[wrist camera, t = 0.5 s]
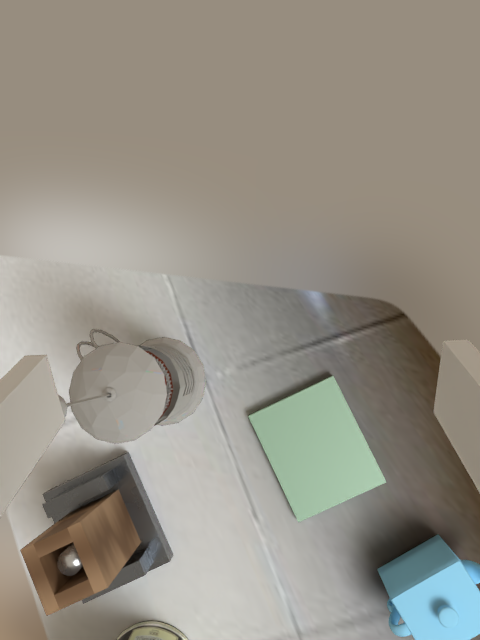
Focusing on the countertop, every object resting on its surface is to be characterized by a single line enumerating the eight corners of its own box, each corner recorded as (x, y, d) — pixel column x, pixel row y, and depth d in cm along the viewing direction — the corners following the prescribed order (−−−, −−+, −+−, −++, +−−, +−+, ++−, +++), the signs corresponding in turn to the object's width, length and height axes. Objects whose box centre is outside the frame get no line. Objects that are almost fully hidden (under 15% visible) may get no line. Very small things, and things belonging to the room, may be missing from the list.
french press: (161, 444, 49) (35, 542, 24) (92, 368, 50) (-95, 386, 25) (224, 382, 48) (164, 415, 24) (153, 308, 50) (26, 265, 25)
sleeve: (141, 542, 46) (107, 587, 38) (91, 565, 47) (46, 615, 38) (118, 489, 47) (80, 521, 38) (69, 512, 47) (20, 549, 39)
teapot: (463, 513, 45) (499, 546, 38) (497, 567, 45) (540, 611, 37) (362, 571, 46) (378, 615, 38) (395, 625, 45) (417, 680, 38)
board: (384, 479, 46) (386, 482, 45) (298, 518, 47) (298, 522, 46) (332, 375, 47) (333, 376, 46) (248, 415, 48) (248, 416, 47)
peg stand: (173, 554, 48) (146, 605, 38) (92, 592, 48) (46, 651, 39) (128, 452, 49) (91, 476, 39) (49, 489, 49) (-5, 522, 40)
